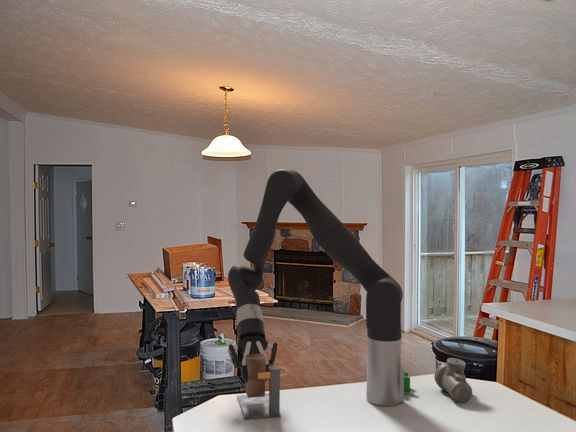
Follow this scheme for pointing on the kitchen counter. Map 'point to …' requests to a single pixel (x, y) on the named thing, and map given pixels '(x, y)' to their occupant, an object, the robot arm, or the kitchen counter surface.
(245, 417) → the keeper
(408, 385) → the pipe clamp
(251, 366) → the link block
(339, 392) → the kitchen counter surface
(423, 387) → the kitchen counter surface
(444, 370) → the pipe fitting
